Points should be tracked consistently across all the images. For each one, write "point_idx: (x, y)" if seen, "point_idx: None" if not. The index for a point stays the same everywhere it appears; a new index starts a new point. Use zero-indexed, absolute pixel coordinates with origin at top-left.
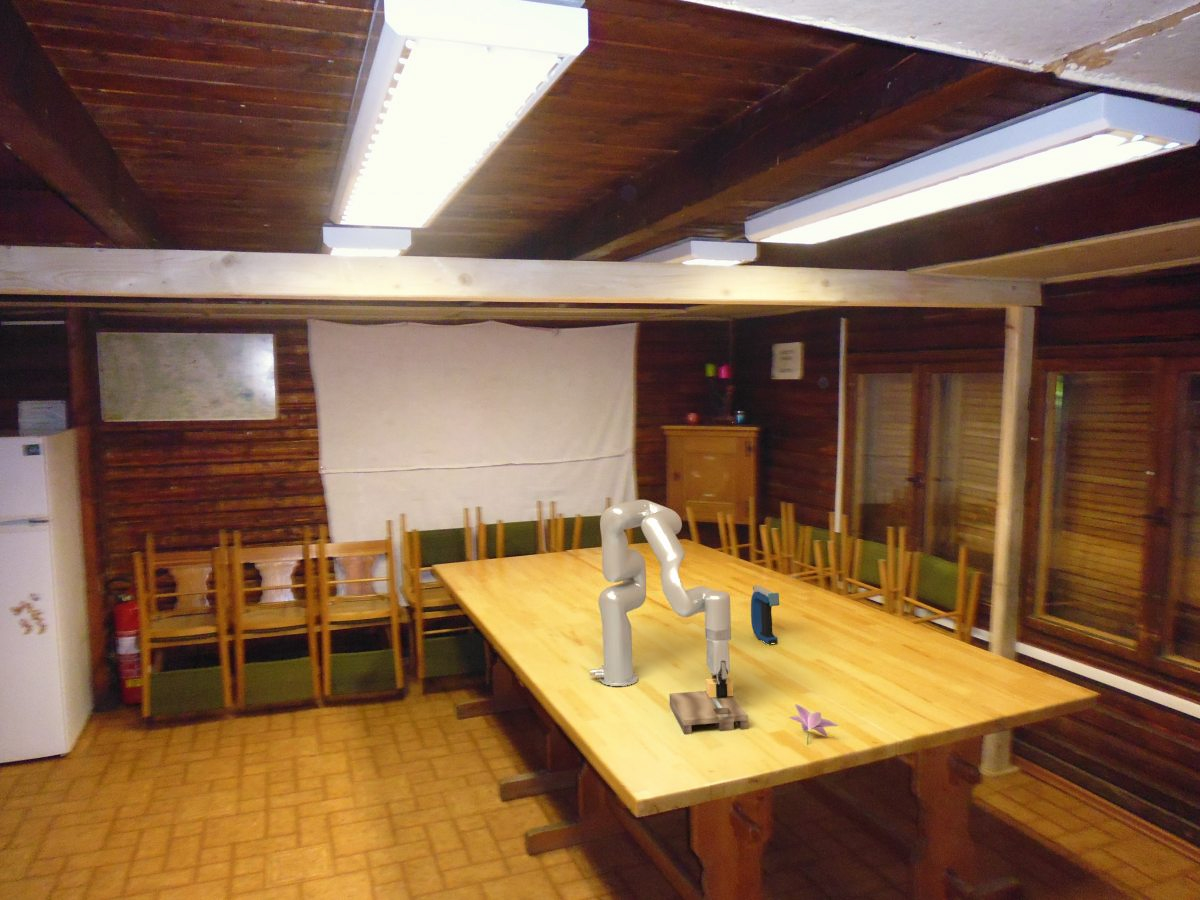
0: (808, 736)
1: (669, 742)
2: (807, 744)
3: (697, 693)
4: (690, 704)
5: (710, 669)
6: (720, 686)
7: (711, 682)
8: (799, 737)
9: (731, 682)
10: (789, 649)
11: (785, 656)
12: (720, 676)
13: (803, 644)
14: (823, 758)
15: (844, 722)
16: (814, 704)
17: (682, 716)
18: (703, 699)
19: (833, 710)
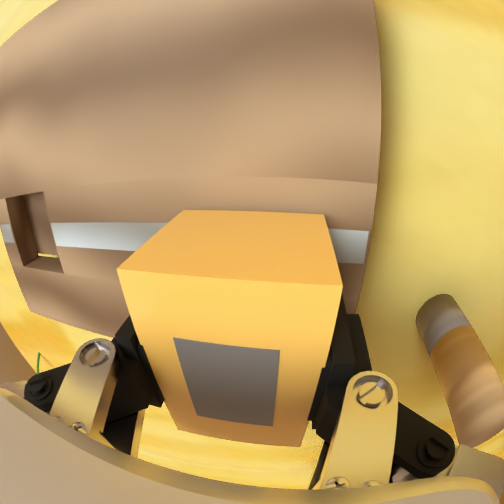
0: (37, 367)
1: (13, 27)
2: (38, 353)
3: (329, 129)
4: (103, 46)
5: (77, 479)
6: (115, 345)
7: (185, 314)
8: (58, 360)
9: (181, 427)
10: (496, 441)
11: (485, 441)
12: (459, 380)
13: (490, 451)
14: (13, 342)
15: (143, 440)
16: (236, 455)
17: (8, 40)
18: (173, 149)
19: (199, 457)
